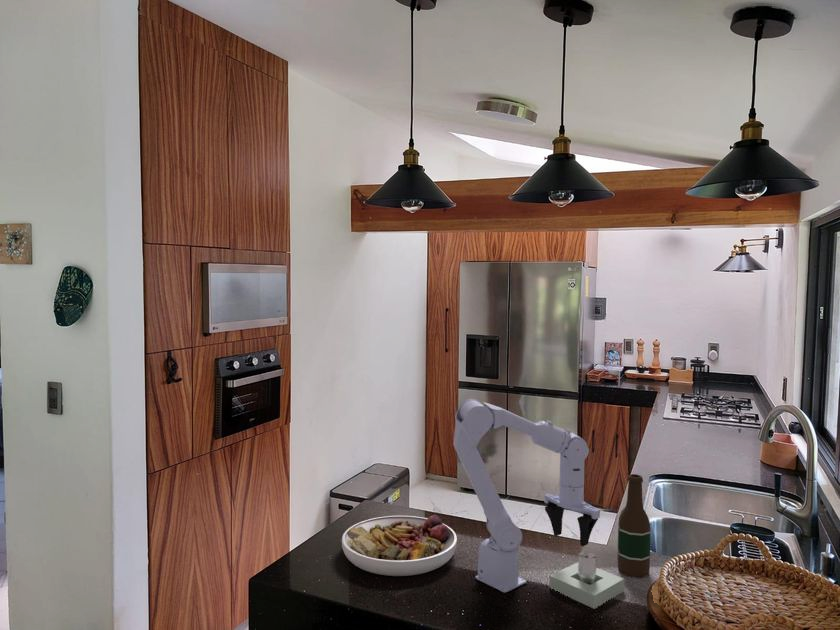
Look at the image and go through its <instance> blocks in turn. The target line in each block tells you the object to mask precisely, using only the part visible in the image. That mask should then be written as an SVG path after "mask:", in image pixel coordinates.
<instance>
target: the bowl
mask: <svg viewBox="0 0 840 630" xmlns="http://www.w3.org/2000/svg"><path fill="white" fill-rule="evenodd" d="M457 537H458V536H457V534H456V532H455V531H454V530H453V529H452V528H451V527H449V526H448V525H446V524H445V523H443V521H442V519H441V517H440V516H439V515H437V514H432V515H431V516H429V517H421V516H415V515H386V516H380V517H374V518H369V519H365V520H363V521H359V522H358V523H355V524H353V525H351V526H350V527H349V528H347V529H346V530H345V531H344V533H343V534H342V537H341V547H342V550H343V553H344V555H345V557H346V558H347V559H348V561H349V562H351V564H353V565H354V566H355V567H357V568H359V569H361V570H363V571H366V572H368V573H372V574H376V575H381V576H387V577H388V576H392V577H407V576H416V575H417V576H418V575H422V574H425V573H429V572H431V571H434V570H437V569H438V568H441V567H443V566H444V565H445V564H446V563H447V562H449V561H450V559H452V557H453V556H454V554H455V552H456V550H457V546H458V545H457V544H458V538H457Z"/></svg>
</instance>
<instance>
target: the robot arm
mask: <svg viewBox="0 0 840 630" xmlns="http://www.w3.org/2000/svg"><path fill="white" fill-rule="evenodd" d="M454 419H455V424H454V434H453V443H452V445H453V447H454V449H455V452H456V454H457V456H458V458H459V460H460V462H461V464H462V466H463V469H464V471H465V473H466V475H467V477H468V479H469V481H470V483H471V486H472V488H473V490H474V493H475V495H476V496H477V498H478V501H479V503H480V505H481V508H482V510H483V514H484V516H485V518H486V524H485V525H486V529H487V531H488V532H489V534H490V536H489V538H485V539H484V540H483V541H482V542H481V544H480V545H479V548H478V553H477V575H475V579H476V580H477V581H480V582H482V583H484V584H486V585H487V586H490V587H492V588H494V589H497V590H499V591H500V592H502V593H507V592H510V591H512V590H514V589H516V588H518V587H520V586H522V585H524V584H527V580H526V579H524V578H522V577H520V576H519V575H520V574H519V570H520V566H519V564H520V559H519V558H520V545H521V543H522V541H523V532H522V531H521V529H520V528H519V527H518V526H517V525H516V523H515V522H514V520H512V518H511V517H510V514H509V513H508V511H507V510H506V508H505V506H504V504H503V502H502V500H501V498H500V495H499V493H498V491H497V489H496V487H495V484H494V482H493V481H492V478H491V476H490V474H489V471H488V470H487V467H486V465H485V463H484V461H483V459H482V456H481V455H480V452H479V450H478V448H477V447H478V444H479V443H480V441H481V439H482V438H483V437H484V435H485V434H486V433H487V432H489V430H490V429H491V428H492V429H497V428H500V427H503V426H504V427H506V428H509V429H512V430H514V431H516V432H520V433H521V434H525V435H527V436H530V438H531V442H532V443H533V444H535V445H537V446H540V447H541V448H544V449H547V450H548V451H552V452H553V453H557V454H559V487H558V488H559V490H558V492H559V493H558V494H559V495H557V494H552V493H546V494H545V495H544V498H543V499H544V504H547V505H546V506H545V507H544V510H545V513H546V514H547V517H548V518H549V521H550V523H551V527H552V532H553V536H555V537H557V536H560V535H562V533H563V518H564V512H565V509H566V510H569V511H572V512H575V513H578V514H582V515H581V516H578V517H577V523H578V526H579V541H580V546H581V547H585V546H587V545H588V544H589V542H590V537H591V534H592V532H593V529H594V527H595V525H596V523H597V522H598V520H599V519H600V518H601V510H600V508H597V507H595V506H592V504H589V503H587V502H586V501H585V499H584V496H585V460H586V459H587V458H588V456H589V452H590V448H589V447H588V444H587V441H586V440H585V439H584V438H583V437H580V436H579V435H577V434H575V433H573V432H572V431H571V430H570V429H568V428H565V429H564V428H561V427H558V426H556V425H554V422H553V421H550V420H548V419H547V420H546V421H544V420H540V421H538V422H534V421H530V420H528V419H526V418H524V417H522V416H519V415H517V414H516V413H513V412H511V411H509V410H507V409H504V408H503V407H500V406H496V405H494V404H491V403H488V402H485V401H483V402H481V401H479V400H478V399H475V398H468V399H466V400H464V401H463V402H462V403H461V404H460V406H459V408H458V409H457V411H456V413H455V417H454Z"/></svg>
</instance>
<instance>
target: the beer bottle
mask: <svg viewBox="0 0 840 630" xmlns="http://www.w3.org/2000/svg"><path fill="white" fill-rule="evenodd" d="M627 481H628V484H627V495H626V502H625V506H624V508H623V509H622V510H621V512H620V514H619V516H618V524H617V569H618V572H619V573H620V574H622V575H624V576H627V577H629V578H634V577H636V579H643V578H645V577H647V576H649V575H650V569H651V568H650V567H651V566H650V564H651V563H650V561H651V532H652V531H651V521H650V519H649V515H648V514H647V512H646V510H645V509H644V503H643V500H644V499H643V482H644V479H643V476H642V475H639V474H636V473H635V474H634V473H632V474H628V476H627Z"/></svg>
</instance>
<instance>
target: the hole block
mask: <svg viewBox="0 0 840 630" xmlns="http://www.w3.org/2000/svg"><path fill="white" fill-rule="evenodd" d="M550 588H551V589H550ZM549 589H550V590H552V589H554V590H555V591H554V590H553V591H554V592H556V591H558V592H560V593H559V594H561V593H562V594H561V595H563V594H564V595H563V596H565V597H567V596H568V598H569V597H570V599H571V600H573V601H576V602H578V603H581V604H583V605H585V606H587V607H590V609H594V610H595V609H597V608H598V606H599V607H600V606H602V605H603V603H604V604H605V603H607V602H608V600H609V599H610V600H612V599H613V598H612V597H614V596H615V597H617V596H618V595H617V594H619V593H621V592H622V593H623V591H625V578H624V577H621V576H619V575H616V574H614V573H611V572H609V571H605V570H603V569H601V568H598V567H596V582H595V583H593V584H592V585H589V584H586V583H584V582H582V581H579V580H578V561H577V562H575V563H573V564H570V565H569V566H567V567H565V568H563V569H561V570H559V571H556V572H555V573H552V574H551V575H549ZM558 592H557V593H558ZM622 593H621V594H622ZM616 595H617V596H616ZM619 595H620V594H619ZM615 597H614V598H615ZM611 598H612V599H611ZM610 600H609V601H610ZM606 601H607V602H606Z"/></svg>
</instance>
